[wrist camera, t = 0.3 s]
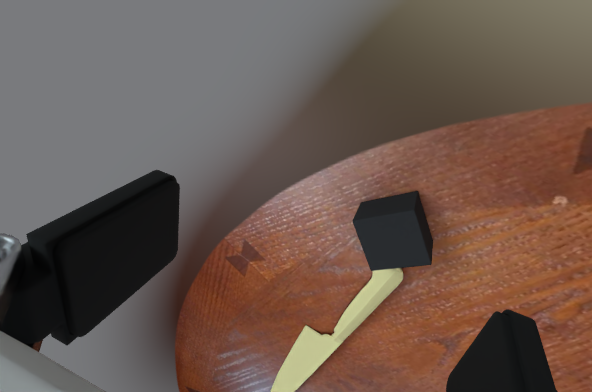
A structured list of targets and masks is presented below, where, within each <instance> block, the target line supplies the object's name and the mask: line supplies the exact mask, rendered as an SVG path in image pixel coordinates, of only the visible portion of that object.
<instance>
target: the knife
mask: <svg viewBox="0 0 592 392" xmlns="http://www.w3.org/2000/svg"><path fill="white" fill-rule="evenodd" d="M402 280H403V271H402V269H401V268H394V269H384V270H375V271H373V274H372V278H371V280H370V281H369V282H368V284H367V285H366V286H365V287H364V288H363V289H362V290H361V291H360V292H359V294H358V295H357V296H356V297H355V298H354V300H353V301H352V302H351V303H350V305H349V306H348V307H347V309H346V310H345V312H344V313H343V315H342V316H341V318H340V320H339V322H338V324H337V325H336V327H335V328H334V332H335V333H333V334H332V335H331V336H330V335H328V334H324V335H321V334H319V333H318V332H316V331H314V330H313V329H311V328H310V327H308V326H307V325H306V326H305V327H304V329H303V331H302V332H301V334H300V335H299V337H298V339H297V340H296V342H295V344H294V345H293V347H292V349H291V351H290V353H289V354H288V356H287V358H286V360H285V362H284V363H283V365H282V367H281V369H280V371H279V372H278V375H277V377H276V379H275V382H274V384H273V386H272V389H271V392H294V391H295V390H297V389H298V388H299V387H300V386H301V385H302V384H303V383H304V382H305V381H306V380H307V379H308V378H309V377H310V376H311V375H312V374H313V372H314V371H315V370H316V369H317V368H318V367H319V366H320V365H321V364H322V363H323V362H324V361H325V360H326V359H327V358H328V357H329V356H330V355H331V354H332V353H333V352H334V351H335V350H336V349H337V348H338V347H339V346H340V345H341V344H342V343H343V341H344V340H345V339H346V338H347V337H348V336H349V335H350V334H351V333H352V332H353V331H354V330H355V329H356V328H357V327H358V326H359V325H360V324H361V323H362V322H363V321H364V320H365V319H366V318H367V317H368V316H369V315H370V314H371V313H372V312H373V311H374V310H375V309H376V308H377V307H378V305H379V304H380V303H381V302H382V301H383V300H384V299H385V298H386V297H387V296H388V295H389V294H390V293H391V292H392V291H393V290H394V289H395V288H396V287H397V286H398V285H399V284H400V283H401V281H402Z"/></svg>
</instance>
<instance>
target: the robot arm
mask: <svg viewBox="0 0 592 392" xmlns="http://www.w3.org/2000/svg"><path fill="white" fill-rule="evenodd" d="M179 190H180V187H179V184H178V183H177V181H176V178H175V177H174V176H172V175H169V174H167V173H164V172H162V171H159V170H155V171H152V172H150V173H149V174H146V175H144V176H142V177H140V178H138V179H136V180H134V181H132V182H130V183H128V184H126V185H124V186H123V187H120V188H118V189H116V190H114V191H112V192H110V193H108V194H106V195H104V196H102V197H100V198H98V199H96V200H94V201H92V202H90V203H88V204H86V205H84V206H82V207H80V208H78V209H76V210H74V211H72V212H70V213H68V214H66V215H64V216H62V217H60V218H58V219H56V220H54V221H52V222H50V223H48V224H46V225H44V226H42V227H40V228H38V229H36V230H34V231H32V232H30V233H28V234H27V239H28V242H27V243H25V244H23V245H21V243H20V242H19V240H18V239H17V238H15V237H14V236H10V235H7V234H0V392H105V391H104V390H102V389H100V388H98V387H97V386H95V385H93V384H92V383H90V382H88V381H86V380H85V379H83V378H81V377H79V376H78V375H76V374H75V373H73V372H71V371H70V370H68V369H66V368H64V367H63V366H61V365H60V364H58V363H56V362H54V361H52V360H51V359H49V358H47V357H46V356H44V355H43V354H41V353H39V350H40V347H41V344H42V341H43V339H44V338H45V337H46V336H48V335H49V334H50V333H51V335H52V337H53V338H55V339H57V340H59V341H61V342H62V343H64V344H65V345H68V344H70V343H71V342H72V341H73V340H74V339H76V338H77V337H82V336H84V335H86V334H87V333H88V332H90V331H91V330H92V329H93V328H94V327H95V326H97V325H98V324H99V323H100V322H101V321H102V320H104V319H105V318H106V317H107V316H108V315H109V314H111V313H112V312H113V311H114V310H115V309H116V308H118V307H119V306H120V305H121V304H122V303H123V302H125V301H126V300H127V299H128V298H129V297H130V296H132V295H133V294H134V293H135V292H136V291H137V290H139V289H140V288H141V287H142V286H143V285H144V284H145V283H147V282H148V281H149V280H150V279H151V278H152V277H153V276H155V275H156V274H157V273H158V272H159V271H160V270H162V269H163V268H164V267H165V266H166V265H168V263H170V262H171V261H172V260H173V259H174V258H175V256H176V254H177V250H178V224H179ZM446 392H558V391H557V390H556V388H555V385H554V382H553V378H552V375H551V372H550V368H549V365H548V362H547V358H546V355H545V352H544V349H543V345H542V342H541V339H540V335H539V332H538V329H537V326H536V323H535V321H534V320H533V319H531V318H529V317H526V316H524V315H521V314H519V313H516V312H514V311H511V310H505V311H503V312H502V313H500V312H495V313H494V314H493V315H492V316H491V318H490V319H489V320H488V322H487V323H486V325H485V326H484V327H483V329H482V330H481V332H480V333H479V334H478V336H477V337H476V339H475V340H474V341H473V343H472V344H471V346H470V347H469V348H468V350H467V351H466V353H465V354H464V355H463V357H462V358H461V360H460V361H459V362H458V364H457V365H456V367H455V368H454V369H453V371H452V372H451V374H450V375H449V378H448V381H447V387H446Z"/></svg>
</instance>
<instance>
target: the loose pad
mask: <svg viewBox="0 0 592 392" xmlns="http://www.w3.org/2000/svg"><path fill="white" fill-rule="evenodd" d="M353 224H354V226H355V229H356V232H357V234H358V237H359V240H360V242H361V245H362V248H363V251H364V253H365V256H366V259H367V261H368V264H369V267H370V269H371V271H375V270H384V269H394V268H404V267H414V266H424V265H431V263H432V248H433V240H432V236H431V233H430V230H429V226H428V223H427V220H426V216H425V213H424V210H423V207H422V203H421V200H420V197H419V193H418V191H415V192H410V193H405V194H400V195H395V196H390V197H386V198H381V199H376V200H371V201H366V202H361V204H360V206H359V208H358V210H357V213H356V215H355V217H354V219H353Z"/></svg>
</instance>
